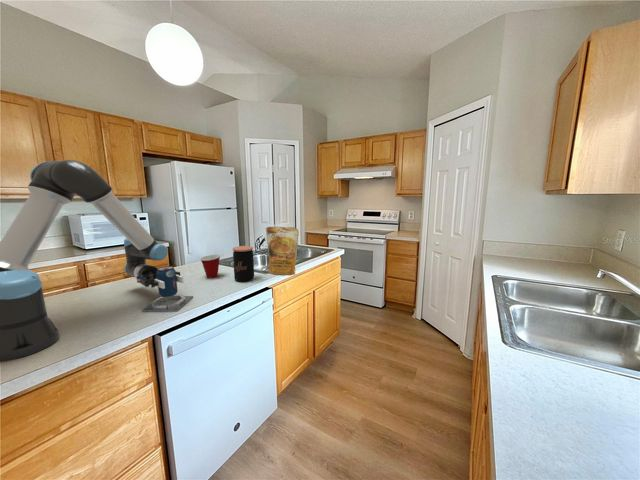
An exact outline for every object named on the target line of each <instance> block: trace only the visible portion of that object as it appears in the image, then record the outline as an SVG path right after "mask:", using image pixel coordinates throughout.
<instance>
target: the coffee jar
mask: <svg viewBox="0 0 640 480" xmlns="http://www.w3.org/2000/svg"><path fill="white" fill-rule="evenodd" d="M253 250H254V247H253V246H251V245H239V246H235V247H233V248H232V251H233V252H232V259H233V260H232V261H233V274H234V280H235V282H239V283H247V282H251V281H253V280H254V278H255V265H254V264H255V261H254V251H253Z"/></svg>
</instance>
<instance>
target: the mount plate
mask: <svg viewBox="0 0 640 480" xmlns="http://www.w3.org/2000/svg"><path fill="white" fill-rule="evenodd" d="M193 298H194V296H193V295H183V294H176V295H174V296H171V297H161V296H160V297H157V298H156V299H154V300H153V301H152V302H151V303H150V304H148V305H147V306H146V307H144V308H143V309H141V313H158V312H159V313H161V312H162V313H166V312H167V313H168V312H170V313H171V312H173V313H174V312H175V313H176V312H179V311H180V310H181V309H182V308H184V307H185V306H186V305H187V304H188V303H189V302H190V301H191V300H192V299H193Z"/></svg>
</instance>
